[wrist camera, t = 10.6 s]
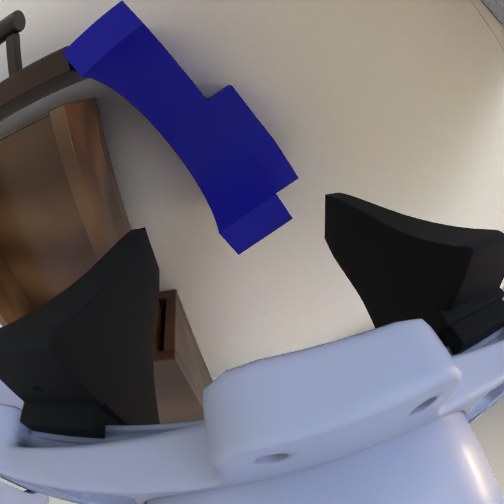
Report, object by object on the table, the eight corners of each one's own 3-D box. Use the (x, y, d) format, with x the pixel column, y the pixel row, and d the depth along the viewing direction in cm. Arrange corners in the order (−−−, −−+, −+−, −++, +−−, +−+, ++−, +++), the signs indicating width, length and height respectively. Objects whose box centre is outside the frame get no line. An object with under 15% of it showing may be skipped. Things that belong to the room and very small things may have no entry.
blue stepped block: (283, 162, 18) (319, 200, 13) (224, 202, 18) (238, 254, 14) (168, 11, 11) (155, -23, 6) (104, 60, 12) (62, 53, 7)
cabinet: (37, 311, 20) (14, 368, 15) (176, 289, 22) (175, 358, 16) (121, 412, 31) (119, 455, 26) (222, 403, 33) (230, 449, 27)
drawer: (-50, 84, 8) (-93, 97, 4) (96, -7, 9) (64, -31, 5) (45, 328, 20) (30, 369, 16) (173, 310, 22) (172, 360, 18)
